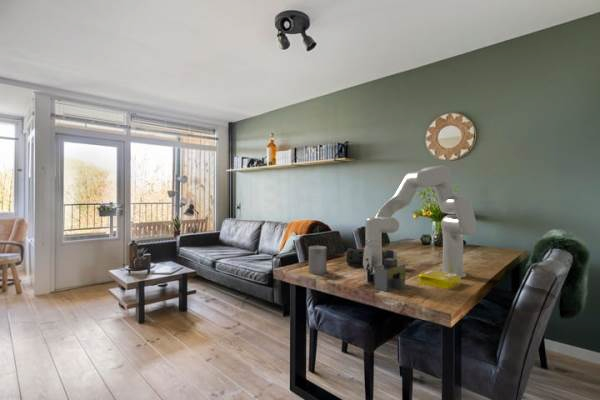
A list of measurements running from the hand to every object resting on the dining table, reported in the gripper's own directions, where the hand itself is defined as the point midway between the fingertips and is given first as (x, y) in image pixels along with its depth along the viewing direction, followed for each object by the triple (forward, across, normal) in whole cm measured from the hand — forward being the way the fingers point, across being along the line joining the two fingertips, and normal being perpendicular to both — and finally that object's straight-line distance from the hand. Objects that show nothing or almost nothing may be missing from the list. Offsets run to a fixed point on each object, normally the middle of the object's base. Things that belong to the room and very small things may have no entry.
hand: (373, 281), depth 148 cm
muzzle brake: (+1, -27, -19) cm, 33 cm away
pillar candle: (+1, +6, -31) cm, 31 cm away
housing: (0, 0, +9) cm, 9 cm away
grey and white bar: (+1, 0, +6) cm, 6 cm away
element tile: (+1, -22, +22) cm, 32 cm away
